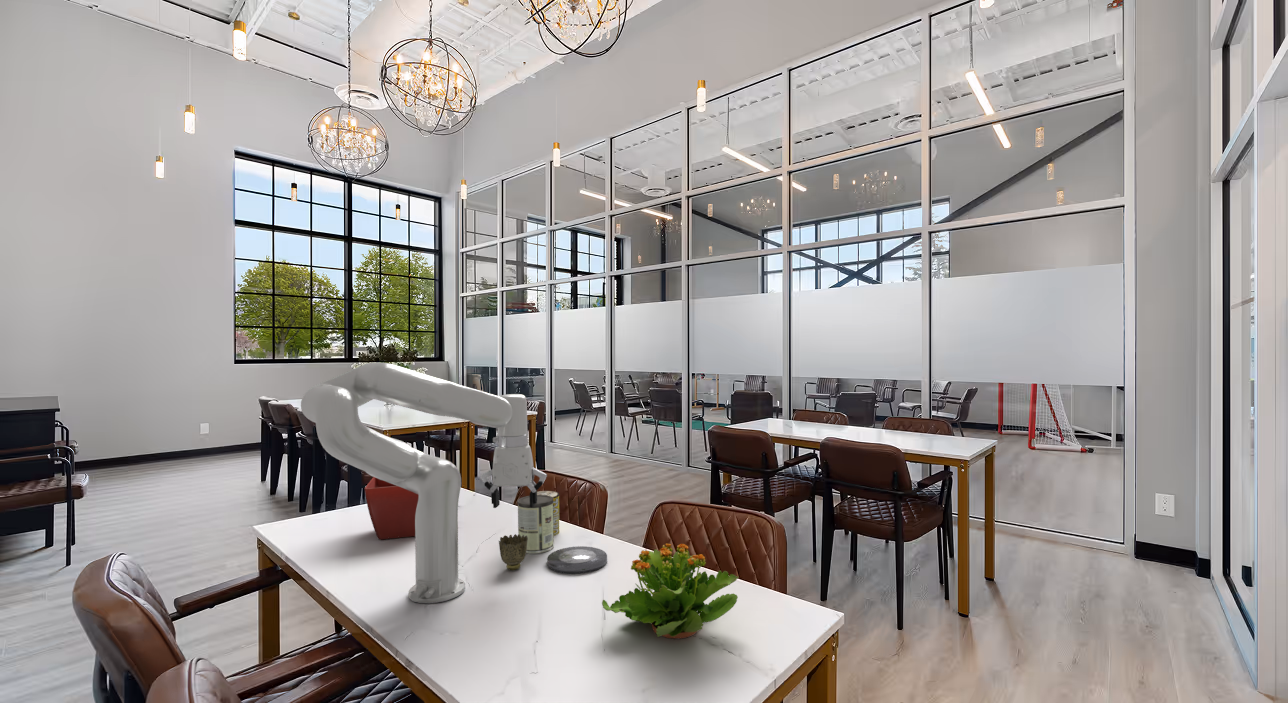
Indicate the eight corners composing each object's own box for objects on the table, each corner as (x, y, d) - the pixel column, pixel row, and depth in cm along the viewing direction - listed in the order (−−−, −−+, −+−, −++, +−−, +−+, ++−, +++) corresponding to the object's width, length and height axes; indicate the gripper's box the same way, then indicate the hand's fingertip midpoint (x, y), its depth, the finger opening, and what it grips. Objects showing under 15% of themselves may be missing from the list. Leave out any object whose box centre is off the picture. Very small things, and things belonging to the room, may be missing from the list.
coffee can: (524, 541, 169) (523, 494, 169) (557, 542, 168) (557, 494, 168) (512, 553, 159) (512, 503, 159) (548, 554, 158) (548, 504, 158)
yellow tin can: (525, 535, 174) (524, 497, 174) (538, 527, 183) (538, 490, 183) (551, 538, 171) (551, 499, 171) (564, 529, 180) (563, 492, 180)
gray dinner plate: (603, 574, 143) (603, 567, 143) (541, 573, 144) (541, 566, 144) (610, 551, 159) (610, 545, 159) (554, 551, 160) (554, 545, 160)
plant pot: (374, 526, 185) (373, 475, 185) (436, 520, 191) (435, 470, 191) (364, 545, 167) (363, 488, 167) (432, 538, 172) (432, 483, 172)
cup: (524, 574, 144) (524, 543, 144) (495, 574, 144) (495, 543, 144) (530, 563, 151) (530, 533, 151) (503, 563, 151) (503, 533, 151)
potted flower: (669, 591, 133) (668, 517, 133) (760, 621, 118) (759, 538, 118) (595, 633, 113) (594, 546, 113) (692, 675, 98) (691, 575, 98)
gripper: (475, 444, 144) (477, 510, 145) (542, 443, 143) (543, 510, 144) (485, 439, 152) (486, 502, 152) (548, 438, 151) (550, 502, 151)
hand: (514, 506), depth 148 cm, fingers open, 9 cm apart
